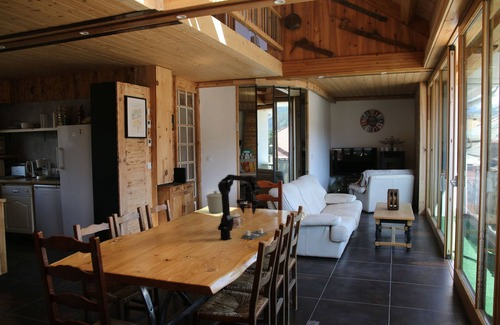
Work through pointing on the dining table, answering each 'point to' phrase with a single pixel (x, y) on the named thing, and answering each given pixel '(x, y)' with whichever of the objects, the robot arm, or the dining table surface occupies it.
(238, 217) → the teacup with lid
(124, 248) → the dining table surface
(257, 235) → the switch bank
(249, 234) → the tab
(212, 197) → the canister
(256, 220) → the dining table surface
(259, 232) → the tab
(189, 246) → the dining table surface
